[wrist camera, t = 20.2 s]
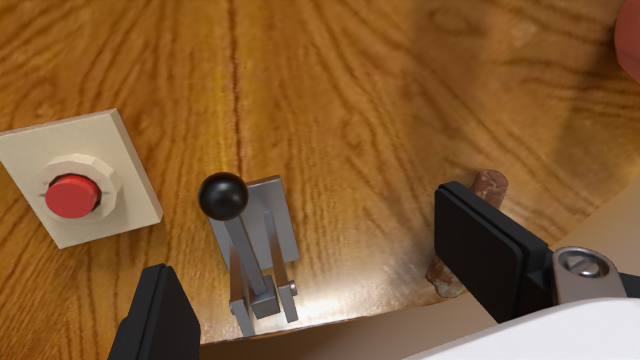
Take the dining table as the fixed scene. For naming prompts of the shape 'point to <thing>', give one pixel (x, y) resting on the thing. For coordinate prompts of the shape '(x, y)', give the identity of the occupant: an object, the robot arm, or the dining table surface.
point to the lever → (239, 235)
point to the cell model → (628, 38)
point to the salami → (492, 191)
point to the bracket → (261, 249)
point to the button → (72, 196)
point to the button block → (82, 174)
